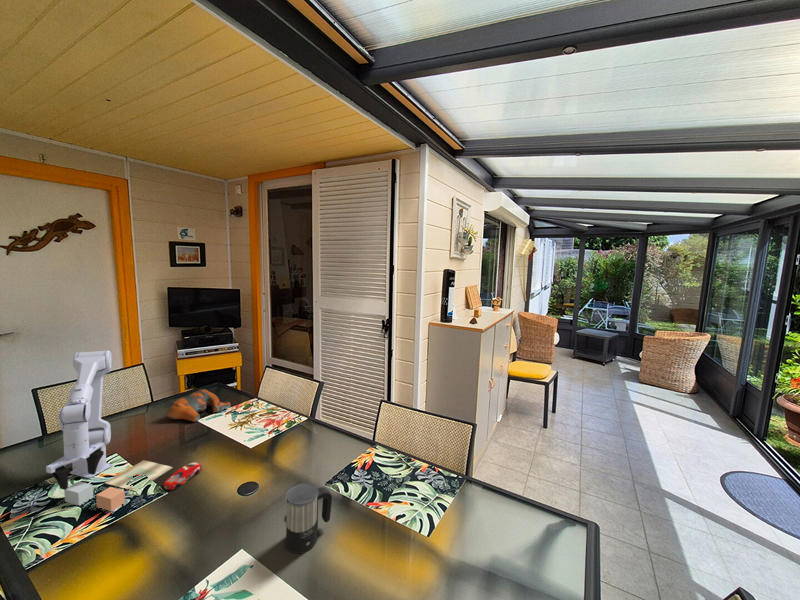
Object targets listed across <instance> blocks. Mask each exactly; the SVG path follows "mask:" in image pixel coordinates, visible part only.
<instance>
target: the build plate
mask: <svg viewBox="0 0 800 600" xmlns="http://www.w3.org/2000/svg"><path fill="white" fill-rule="evenodd" d="M173 468H174V467H173V466H171V465H165V464H161V463H158V462H152V461H149V460H144V459H143V460H141V461H140V462H138V463H137V464H135V465H133V466H131V467H129V468H128V469H125V470H124V471H123V472H121V473H119V474H117V475H115V476H114V477H111V478H109V479H108V480H107V481H105V482H104V484H106V485H110V486H112V487H113V486H114V487H115V488H116V487H117V488H119V489H120V488H121V489H124V488H125V489H124V490H128V489H129V491H131V489H133V488H132V487H134V486H133V485H131V484H129V485H126V484H127V483H126V482H129V481H130V480H131V479H132V478H133V476H135V475H136V474H139V475H140V474H142V475H146V476H147V477H148V479H150V480H151V482H153V481H155V480H157V479H158V478H159V477H160V476H162V475H164V474H166V473H167V472H168V471H170V470H172V469H173ZM131 481H133V480H131ZM130 485H131V486H130ZM132 492H135V491H134V490H133V491H132Z"/></svg>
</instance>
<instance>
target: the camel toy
mask: <svg viewBox="0 0 800 600" xmlns="http://www.w3.org/2000/svg"><path fill="white" fill-rule="evenodd" d="M208 406H209V407H211V409H212V414H216V413H218V412H219V413H220V411H221V412H223V411H225V410H224V409H227V408H230V409H231V402H230V401H226V402H222V401H220V398H219V397H218V396H217V395H216V394H215V393H213V392H211V391H208V389H205V388H204V389H198V390H196V391H194V392H192V393H190V394H188V395H186V396H182V397H180V398H177V399H175V400H174V401H173V403H172V405H171V406H170V408H169V409H168V410H167V412H166V413H165V417H167V418H169V419H172V420H185V421H191V422H198V421H199V420H200V419H201V414H200V412H203V411H205V410H206V409H207V407H208ZM215 412H216V413H215Z"/></svg>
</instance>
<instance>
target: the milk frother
mask: <svg viewBox="0 0 800 600" xmlns="http://www.w3.org/2000/svg"><path fill="white" fill-rule="evenodd" d="M321 499H322V508H321V518H322V519H321V520H323V521H324V522H325V523H328V522H329V521H330V519H331V513H332V512H331V511H332V502H333V496H332V493H331V491H330V490H329V489H328V488H326V487H323V486H322V487H317V486H316V485H314V484H313V483H312V484H311V483H299V484H297V485H295V486H292V487H290V489H288V491H287V492H286V494H285V503H286V524H285V525H286V530H285V534H286V535H285V540H284V545H285V548H286V550H288V551H289V552H290V553H292V554H303V553H306V552H307V551H309V550H311V549H312V548H313V547H314V546H315V545H316V543H317V541H318V537H319V536H318V529H319V524H318V523H319V519H318V518H319V500H321Z"/></svg>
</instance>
